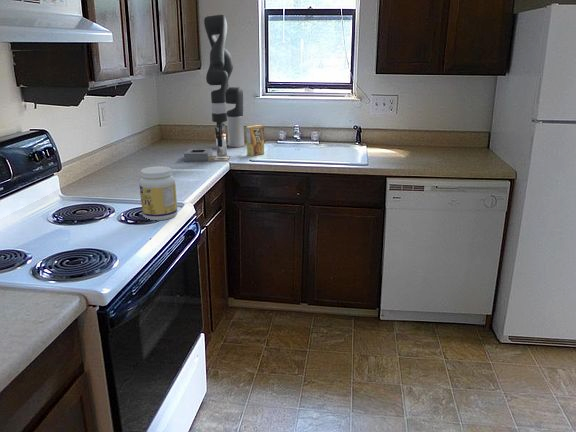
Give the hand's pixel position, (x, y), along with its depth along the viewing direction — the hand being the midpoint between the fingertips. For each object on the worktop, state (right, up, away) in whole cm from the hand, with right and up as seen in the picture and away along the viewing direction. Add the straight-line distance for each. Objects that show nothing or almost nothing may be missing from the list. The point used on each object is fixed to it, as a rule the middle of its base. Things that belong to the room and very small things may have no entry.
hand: (221, 145), depth 264 cm
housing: (-12, -6, +3) cm, 14 cm away
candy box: (+17, -3, +15) cm, 23 cm away
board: (-7, -7, +3) cm, 11 cm away
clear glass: (0, -5, +2) cm, 5 cm away
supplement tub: (-11, -36, -80) cm, 88 cm away
